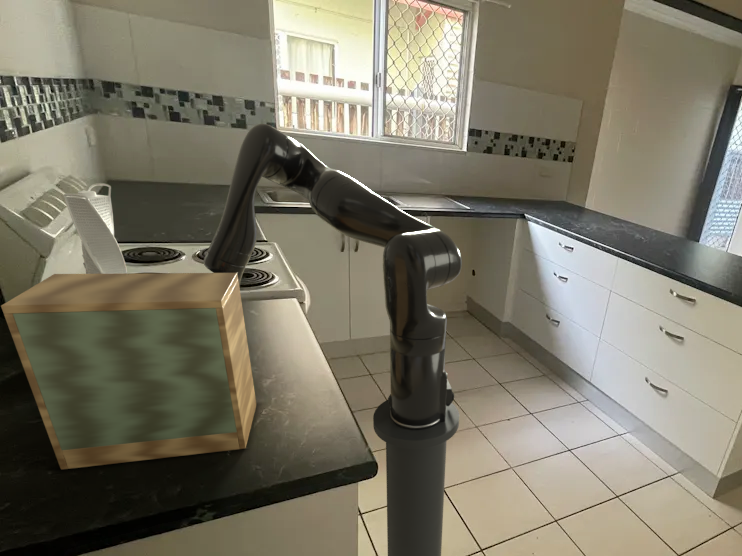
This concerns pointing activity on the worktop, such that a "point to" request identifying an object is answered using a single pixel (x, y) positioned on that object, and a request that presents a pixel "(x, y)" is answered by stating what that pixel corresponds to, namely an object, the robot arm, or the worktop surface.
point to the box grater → (96, 231)
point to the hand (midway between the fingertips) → (156, 379)
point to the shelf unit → (136, 364)
